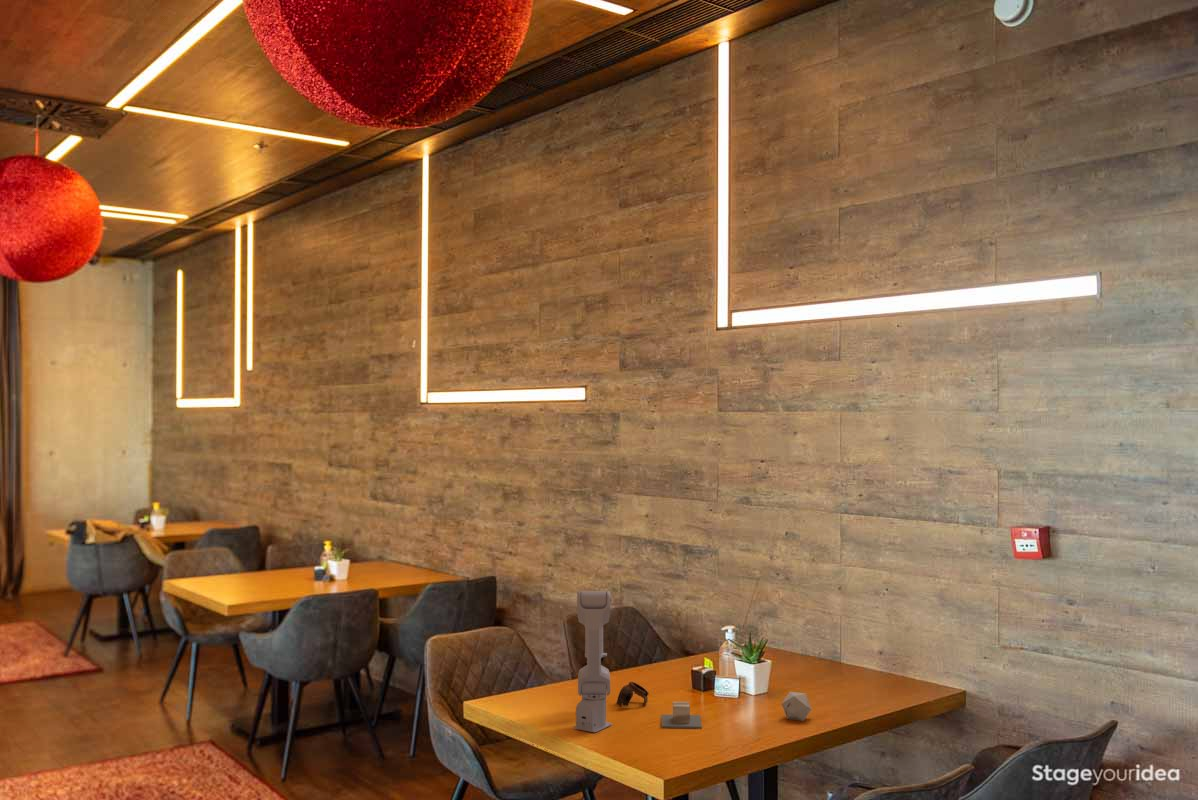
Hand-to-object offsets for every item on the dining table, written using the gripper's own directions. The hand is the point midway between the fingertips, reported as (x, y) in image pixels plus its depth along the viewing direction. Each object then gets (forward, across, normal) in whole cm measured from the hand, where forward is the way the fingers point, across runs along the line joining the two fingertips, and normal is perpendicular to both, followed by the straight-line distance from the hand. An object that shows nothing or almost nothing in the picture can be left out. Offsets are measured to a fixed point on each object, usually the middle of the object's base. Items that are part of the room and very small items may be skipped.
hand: (594, 682), depth 314 cm
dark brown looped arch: (+10, +9, -11) cm, 17 cm away
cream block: (+9, -9, -27) cm, 30 cm away
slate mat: (+9, -9, -27) cm, 30 cm away
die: (+10, -3, -63) cm, 64 cm away
